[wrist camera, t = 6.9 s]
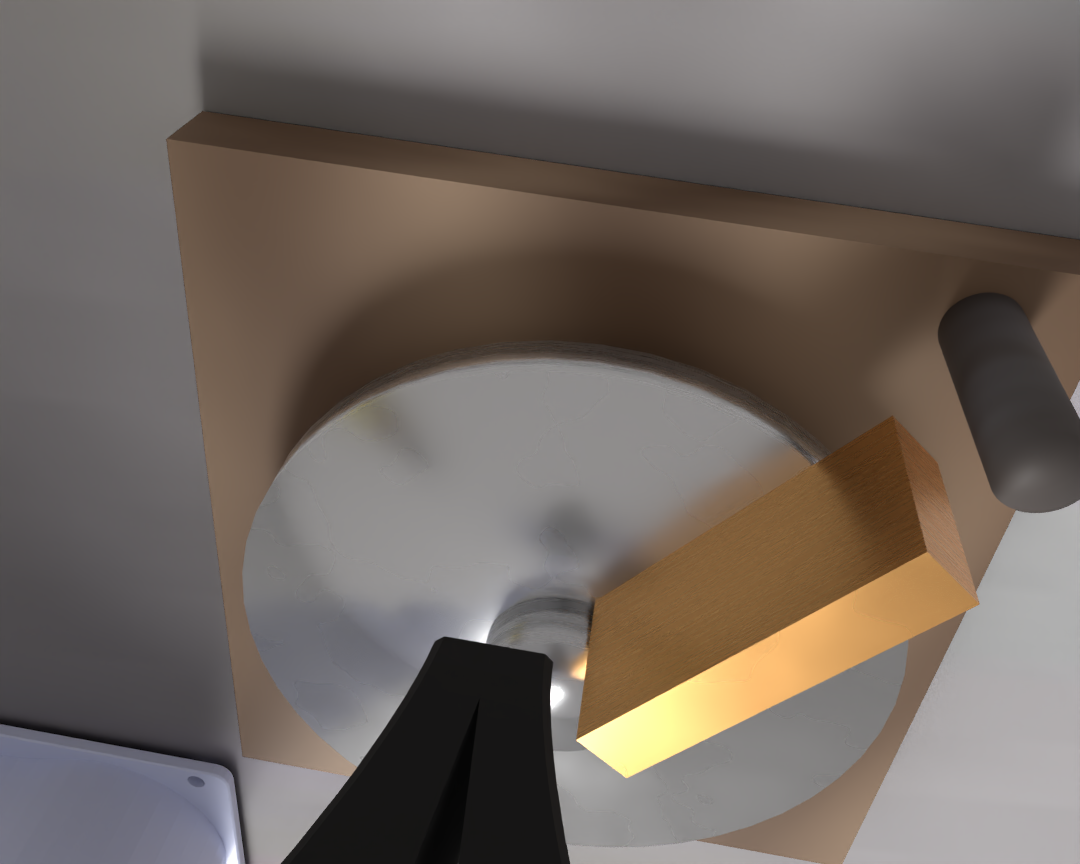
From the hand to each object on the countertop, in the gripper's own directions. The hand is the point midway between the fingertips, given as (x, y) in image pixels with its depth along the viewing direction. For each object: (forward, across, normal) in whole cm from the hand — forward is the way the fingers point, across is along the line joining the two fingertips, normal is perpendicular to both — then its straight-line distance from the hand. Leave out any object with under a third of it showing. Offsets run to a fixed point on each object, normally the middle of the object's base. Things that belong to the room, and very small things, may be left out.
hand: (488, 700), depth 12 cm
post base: (+9, -1, +5) cm, 11 cm away
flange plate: (+7, -1, +5) cm, 9 cm away
